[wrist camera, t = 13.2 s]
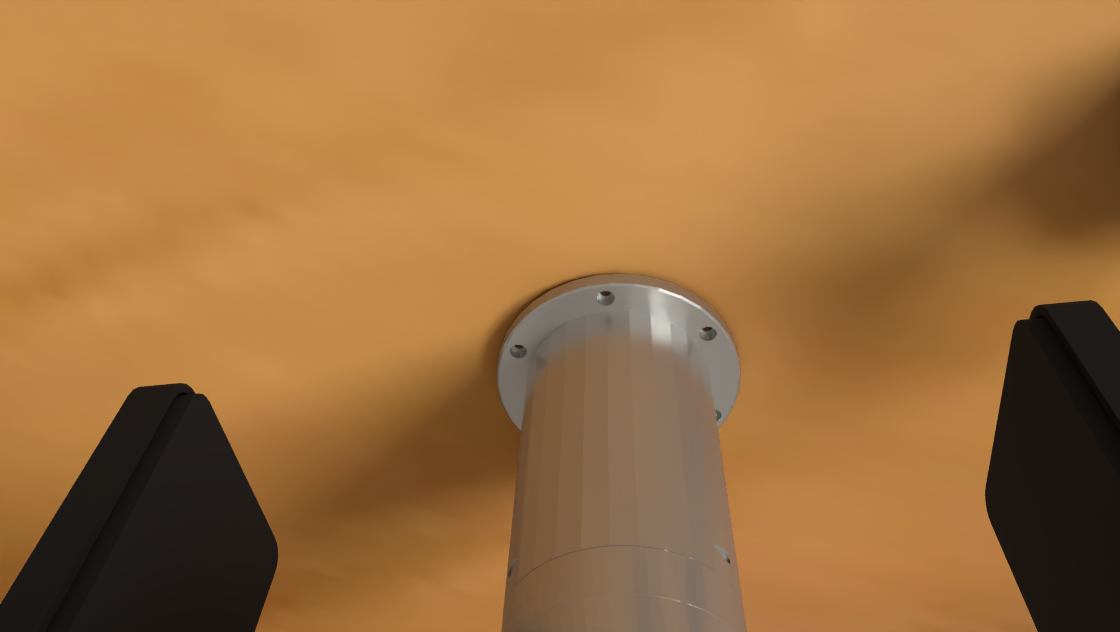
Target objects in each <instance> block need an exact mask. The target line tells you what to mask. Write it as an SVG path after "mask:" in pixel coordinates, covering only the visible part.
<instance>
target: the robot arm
mask: <svg viewBox="0 0 1120 632" xmlns="http://www.w3.org/2000/svg"><path fill="white" fill-rule="evenodd" d="M740 375H741V371H740V364H739V358H738V352H737V349H736V346H735V342H734V339H733V336H732V334H731V332H730V331H729V329H728V327H727V326H726V324H725V322H724V321H723V319H722V318H721V317H720V316H719V315H718V314H717V313H716V312H715V311H714V309H713V308H712V307H711V306H710V305H709V304H707V303H706V302H705V301H703V300H702V299H700V298H699V297H698V296H696V295H695V294H693V293H692V292H690V291H688V290H686V289H684V288H682V287H679V286H677V285H675V284H673V283H671V282H667V281H664V280H660V279H656V278H652V277H649V276H642V275H631V274H607V275H596V276H591V277H587V278H582V279H578V280H574V281H571V282H569V283H566V284H564V285H561V286H559V287H556V288H554V289H552V290H550V291H549V292H547V293H545V294H544V295H542V296H541V297H539V298H537V299H536V300H534V301H533V302H532V303H531V304H530V305H529V306H528V307H527V308H525V309H524V310H523V311H522V312H521V313H520V314H519V315H518V316H517V318H516V319H515V321H514V322H513V324H512V325H511V326H510V328H509V329H508V331H507V333H506V335H505V338H504V341H503V343H502V346H501V348H500V354H499V360H498V366H497V387H498V391H499V395H500V399H501V402H502V404H503V406H504V408H505V410H506V412H507V414H508V416H509V418H510V419H511V421H512V422H513V423H514V424H515V426H516V427H517V428H518V429H519V430H520V432H521V437H520V447H519V457H518V467H517V477H516V487H515V497H514V507H513V517H512V528H511V538H510V548H509V558H508V568H507V578H506V588H505V598H504V608H503V621H502V632H747V629H746V622H745V614H744V608H743V601H742V594H741V587H740V580H739V573H738V566H737V559H736V552H735V545H734V538H733V531H732V524H731V517H730V510H729V503H728V496H727V489H726V482H725V475H724V468H723V461H722V454H721V447H720V440H719V433H718V428H719V427H720V426H721V425H722V424H723V423H724V422H725V420H726V418H727V417H728V415H729V413H730V412H731V410H732V409H733V407H734V404H735V401H736V398H737V395H738V392H739V386H740ZM985 499H986V507H987V512H988V516H989V519H990V522H991V524H992V527H993V529H994V531H995V534H996V536H997V538H998V541H999V543H1000V545H1001V547H1002V550H1003V552H1004V554H1005V557H1006V559H1007V561H1008V564H1009V566H1010V568H1011V571H1012V573H1013V575H1014V578H1015V580H1016V582H1017V584H1018V587H1019V589H1020V591H1021V594H1022V596H1023V598H1024V601H1025V603H1026V605H1027V608H1028V610H1029V612H1030V615H1031V617H1032V619H1033V622H1034V624H1035V626H1036V628H1037V631H1038V632H1120V331H1119V330H1118V329H1117V327H1116V326H1115V325H1114V323H1113V322H1112V320H1111V319H1110V318H1109V316H1108V315H1107V314H1106V312H1105V311H1104V309H1103V308H1102V307H1101V306H1100V305H1099V304H1098V303H1097V302H1095V301H1092V300H1089V301H1078V302H1067V303H1056V304H1045V305H1038V306H1036V307H1034V309H1033V310H1032V312H1031V315H1030V318H1029V319H1026V320H1019V321H1017V322H1016V324H1015V326H1014V329H1013V334H1012V339H1011V345H1010V351H1009V356H1008V362H1007V368H1006V374H1005V379H1004V385H1003V391H1002V397H1001V402H1000V408H999V414H998V420H997V425H996V431H995V437H994V443H993V448H992V454H991V460H990V465H989V471H988V477H987V483H986V490H985ZM277 561H278V548H277V542H276V540H275V537H274V535H273V533H272V531H271V529H270V526H269V524H268V522H267V520H266V518H265V516H264V514H263V512H262V510H261V508H260V506H259V504H258V502H257V499H256V497H255V495H254V493H253V491H252V489H251V487H250V485H249V483H248V481H247V479H246V477H245V475H244V472H243V470H242V468H241V466H240V464H239V462H238V460H237V458H236V456H235V454H234V452H233V450H232V448H231V445H230V443H229V441H228V439H227V437H226V435H225V433H224V431H223V429H222V427H221V425H220V423H219V421H218V418H217V416H216V414H215V412H214V410H213V408H212V406H211V404H210V402H209V400H208V399H207V397H206V396H204V395H203V394H195V392H194V391H193V389H192V388H191V387H190V386H188V385H187V384H183V383H177V384H166V385H155V386H144V387H138V388H136V389H134V390H133V391H132V392H131V393H130V394H129V395H128V397H127V398H126V400H125V402H124V403H123V405H122V407H121V408H120V410H119V411H118V413H117V415H116V416H115V418H114V420H113V421H112V423H111V425H110V426H109V428H108V429H107V431H106V433H105V434H104V436H103V438H102V439H101V441H100V443H99V444H98V446H97V447H96V449H95V451H94V452H93V454H92V456H91V457H90V459H89V460H88V462H87V464H86V465H85V467H84V469H83V470H82V472H81V474H80V475H79V477H78V478H77V480H76V482H75V483H74V485H73V487H72V488H71V490H70V492H69V493H68V495H67V496H66V498H65V500H64V501H63V503H62V505H61V506H60V508H59V509H58V511H57V513H56V514H55V516H54V518H53V519H52V521H51V523H50V524H49V526H48V527H47V529H46V531H45V532H44V534H43V536H42V537H41V539H40V541H39V542H38V544H37V545H36V547H35V549H34V550H33V552H32V554H31V555H30V557H29V559H28V560H27V562H26V563H25V565H24V567H23V568H22V570H21V572H20V573H19V575H18V576H17V578H16V580H15V581H14V583H13V585H12V586H11V588H10V590H9V591H8V593H7V594H6V596H5V598H4V599H3V601H2V603H1V604H0V632H255V629H256V626H257V623H258V620H259V617H260V615H261V612H262V609H263V606H264V603H265V600H266V597H267V594H268V591H269V588H270V585H271V583H272V580H273V577H274V574H275V571H276V567H277Z"/></svg>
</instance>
